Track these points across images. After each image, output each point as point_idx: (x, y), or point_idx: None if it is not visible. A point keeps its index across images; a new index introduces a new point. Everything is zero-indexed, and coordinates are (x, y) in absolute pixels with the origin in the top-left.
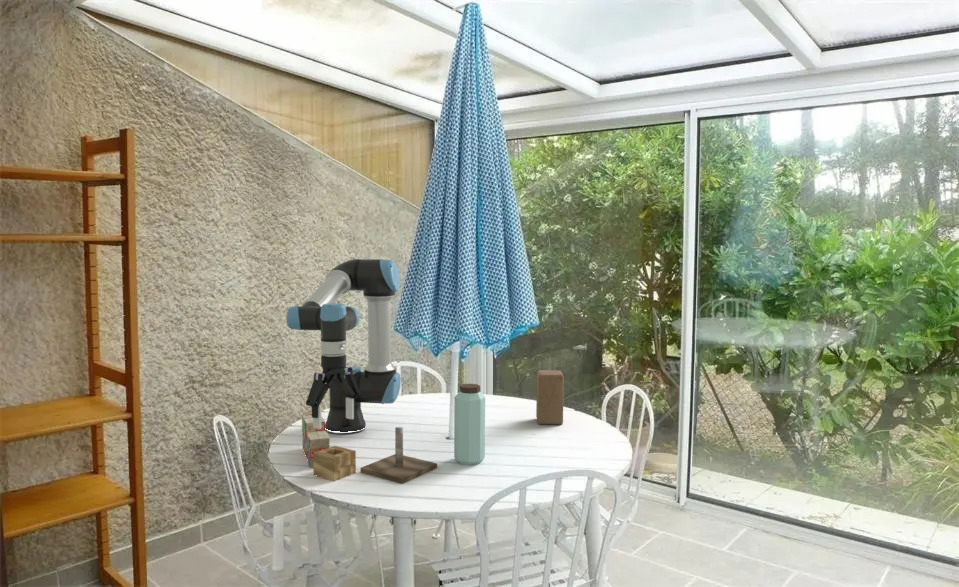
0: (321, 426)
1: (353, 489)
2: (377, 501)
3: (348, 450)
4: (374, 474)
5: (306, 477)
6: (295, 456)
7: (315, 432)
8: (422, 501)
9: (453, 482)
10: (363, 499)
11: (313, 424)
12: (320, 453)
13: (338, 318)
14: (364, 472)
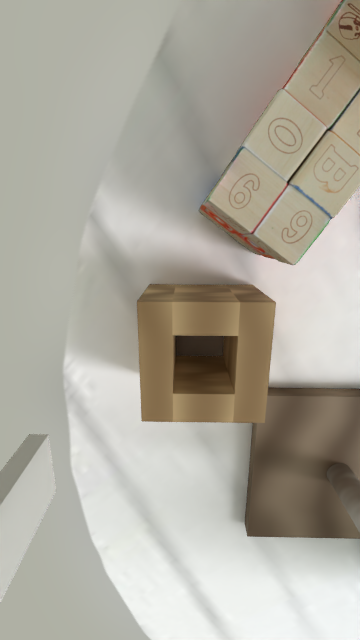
0: (49, 503)
1: (139, 456)
2: (118, 541)
3: (251, 399)
4: (253, 442)
5: (121, 279)
6: (274, 20)
7: (349, 92)
8: (179, 603)
9: (316, 597)
10: (106, 512)
11: (16, 454)
12: (151, 333)
13: None
14: None
